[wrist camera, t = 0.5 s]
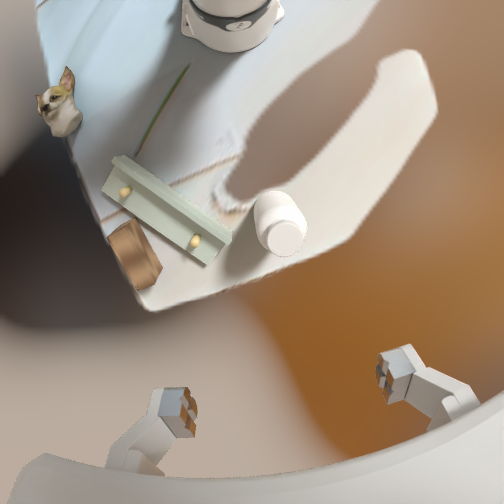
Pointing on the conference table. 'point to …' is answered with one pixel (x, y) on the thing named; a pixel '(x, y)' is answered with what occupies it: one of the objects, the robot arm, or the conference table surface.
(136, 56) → the conference table surface
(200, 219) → the ledge
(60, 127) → the ceramic sculpture
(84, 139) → the conference table surface
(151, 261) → the wooden box
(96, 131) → the conference table surface
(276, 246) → the pill bottle
